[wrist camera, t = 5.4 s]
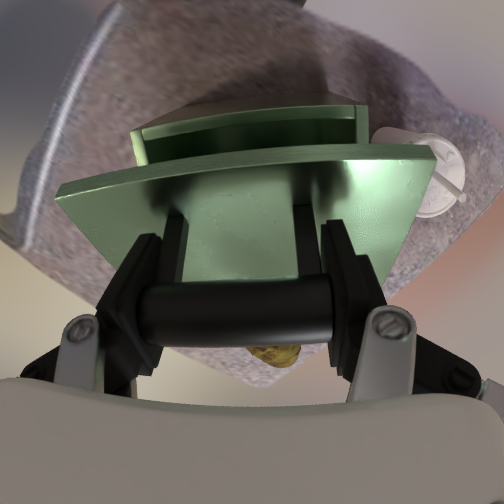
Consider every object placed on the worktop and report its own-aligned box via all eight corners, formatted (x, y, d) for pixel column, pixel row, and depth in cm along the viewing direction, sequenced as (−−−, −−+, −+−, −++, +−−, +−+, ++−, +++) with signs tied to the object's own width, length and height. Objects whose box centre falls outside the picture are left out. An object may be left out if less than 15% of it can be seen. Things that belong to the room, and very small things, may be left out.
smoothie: (410, 108, 24) (500, 148, 12) (418, 168, 27) (495, 238, 16) (351, 119, 25) (414, 164, 14) (363, 180, 29) (419, 261, 17)
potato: (237, 345, 43) (232, 391, 37) (241, 277, 36) (235, 327, 30) (294, 349, 43) (295, 395, 37) (310, 283, 36) (317, 333, 29)
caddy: (182, 106, 26) (129, 131, 16) (329, 91, 24) (368, 105, 14) (211, 254, 35) (190, 332, 25) (332, 245, 33) (354, 323, 23)
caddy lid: (61, 183, 10) (11, 311, 7) (429, 144, 8) (495, 289, 6) (189, 331, 25) (185, 394, 22) (354, 323, 23) (361, 388, 20)
